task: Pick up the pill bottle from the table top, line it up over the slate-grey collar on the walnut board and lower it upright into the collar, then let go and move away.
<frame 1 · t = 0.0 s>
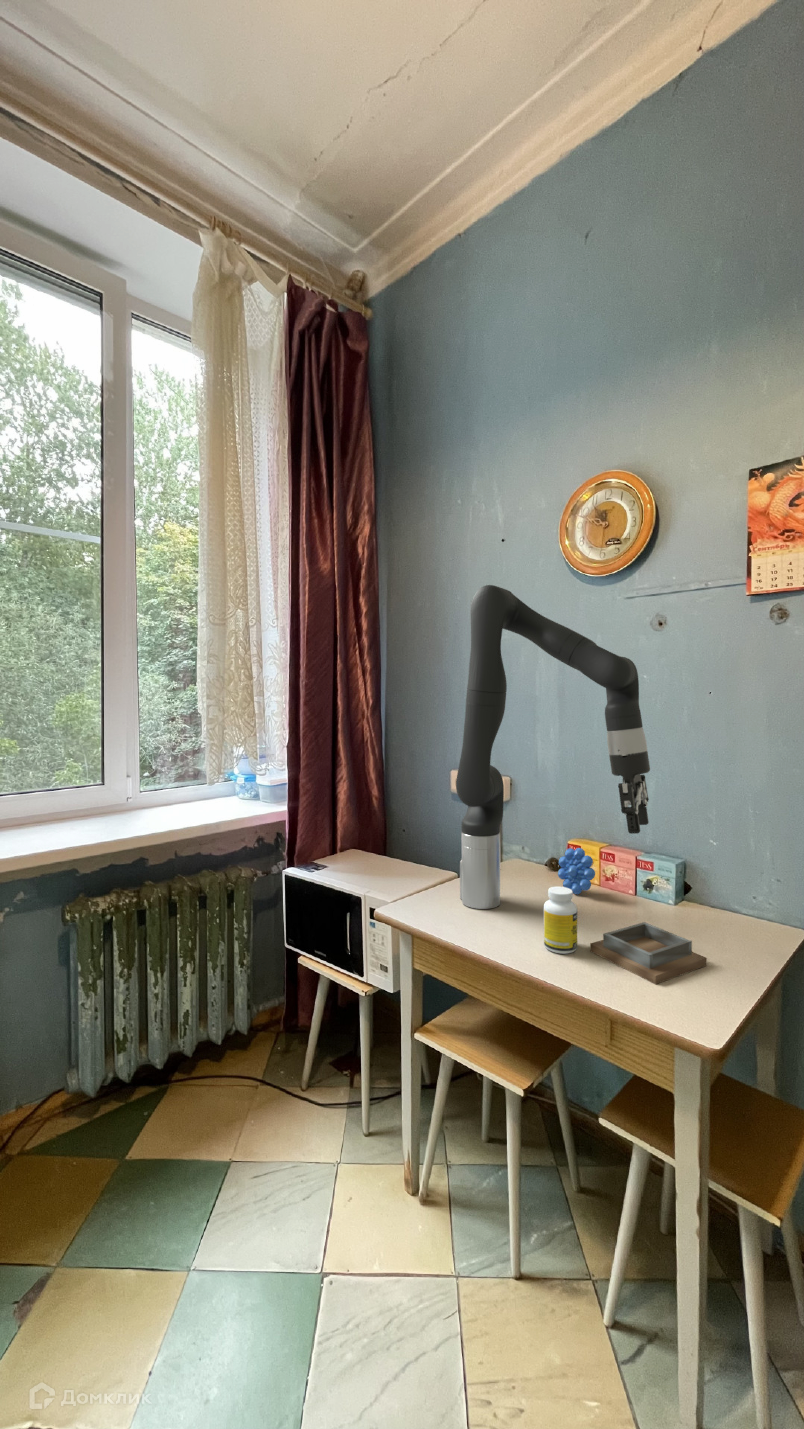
hand: (639, 828, 122), 22 cm above the table, tool pointing down, fingers open, 8 cm apart
pill bottle: (560, 948, 117), on the table
collar board: (646, 958, 112), on the table
grapes: (578, 894, 148), on the table
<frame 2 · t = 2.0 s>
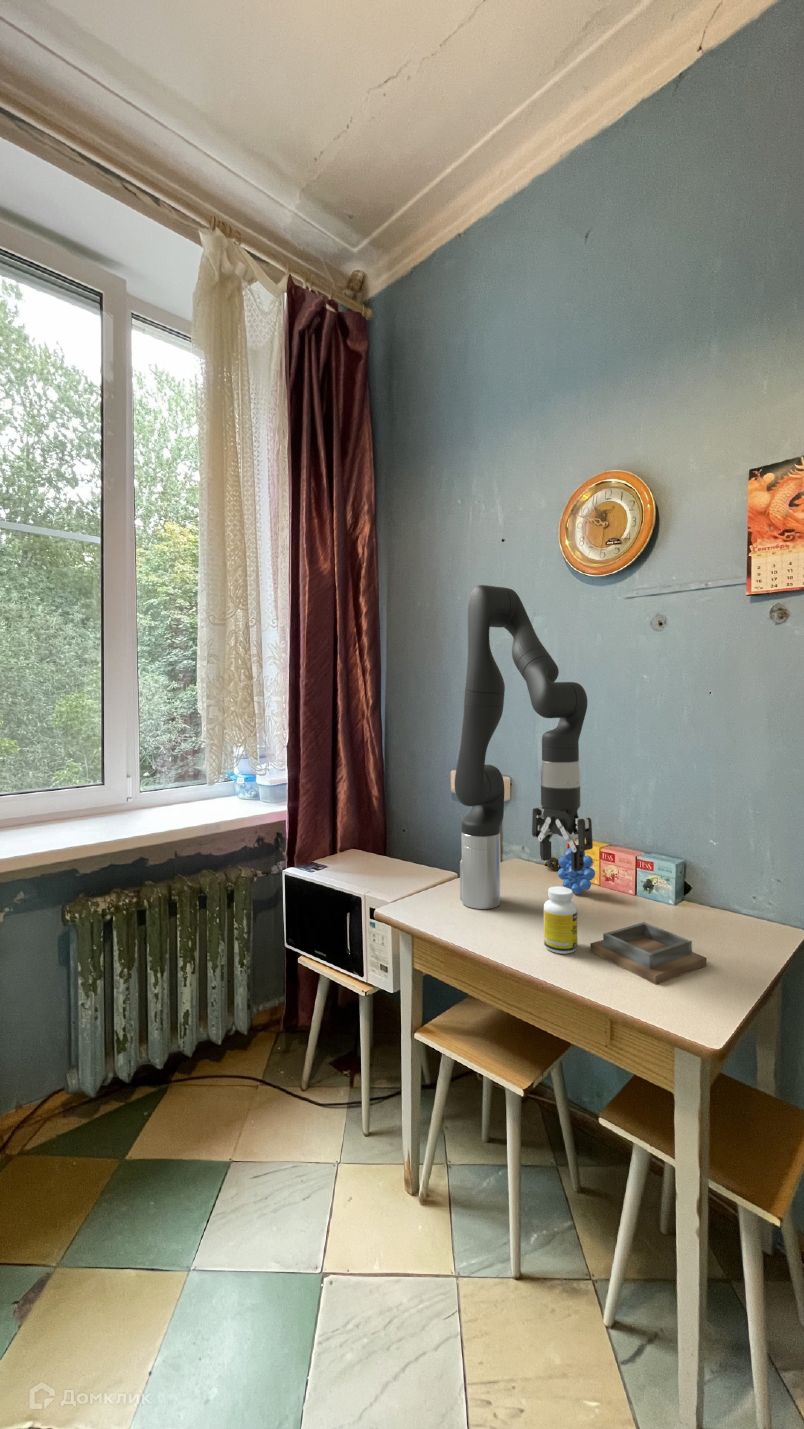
hand: (561, 864, 116), 17 cm above the table, tool pointing down, fingers open, 8 cm apart
nothing on the table moved.
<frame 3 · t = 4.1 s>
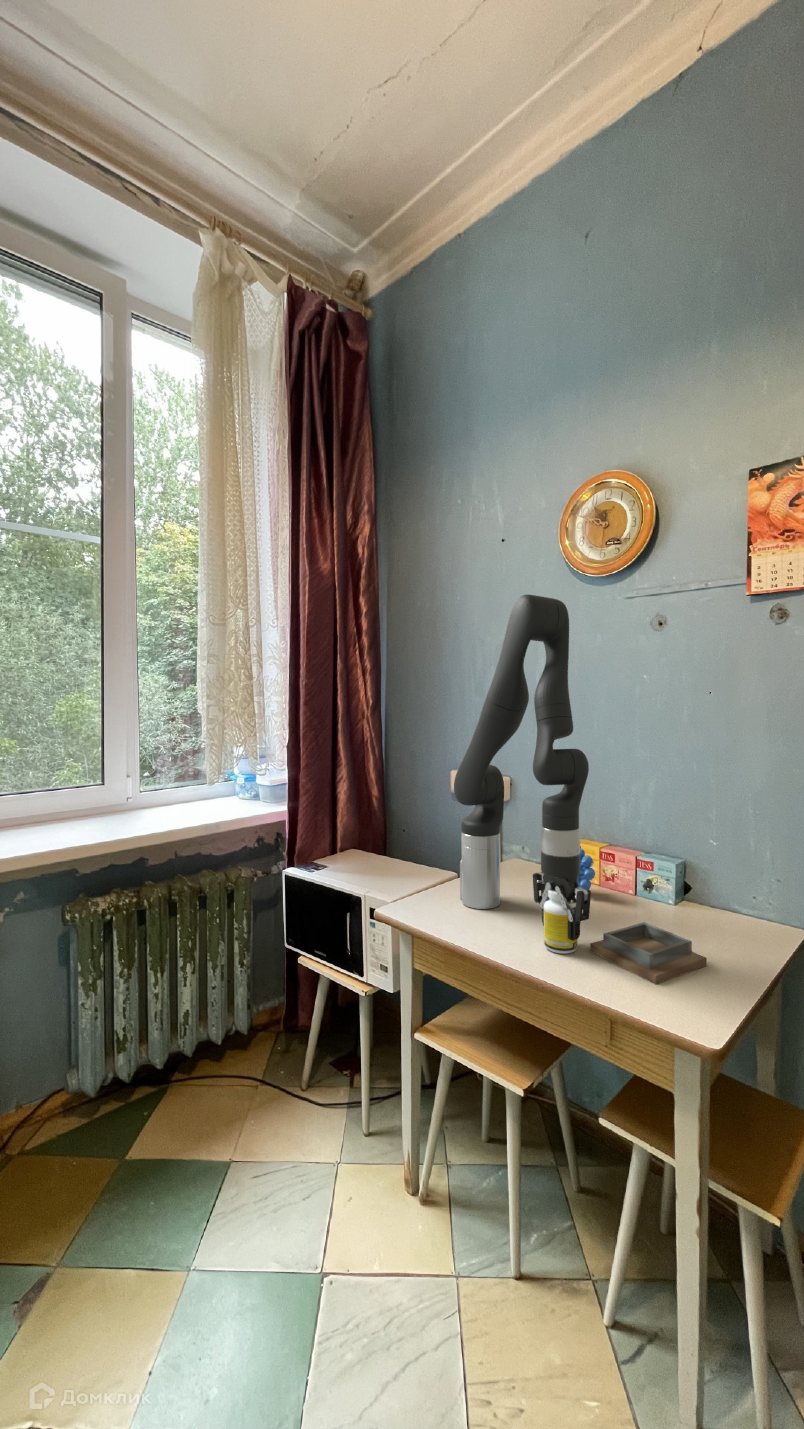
hand: (560, 932, 117), 3 cm above the table, tool pointing down, fingers closed on pill bottle, 6 cm apart
pill bottle: (560, 948, 117), on the table, touching gripper
everything else where it was.
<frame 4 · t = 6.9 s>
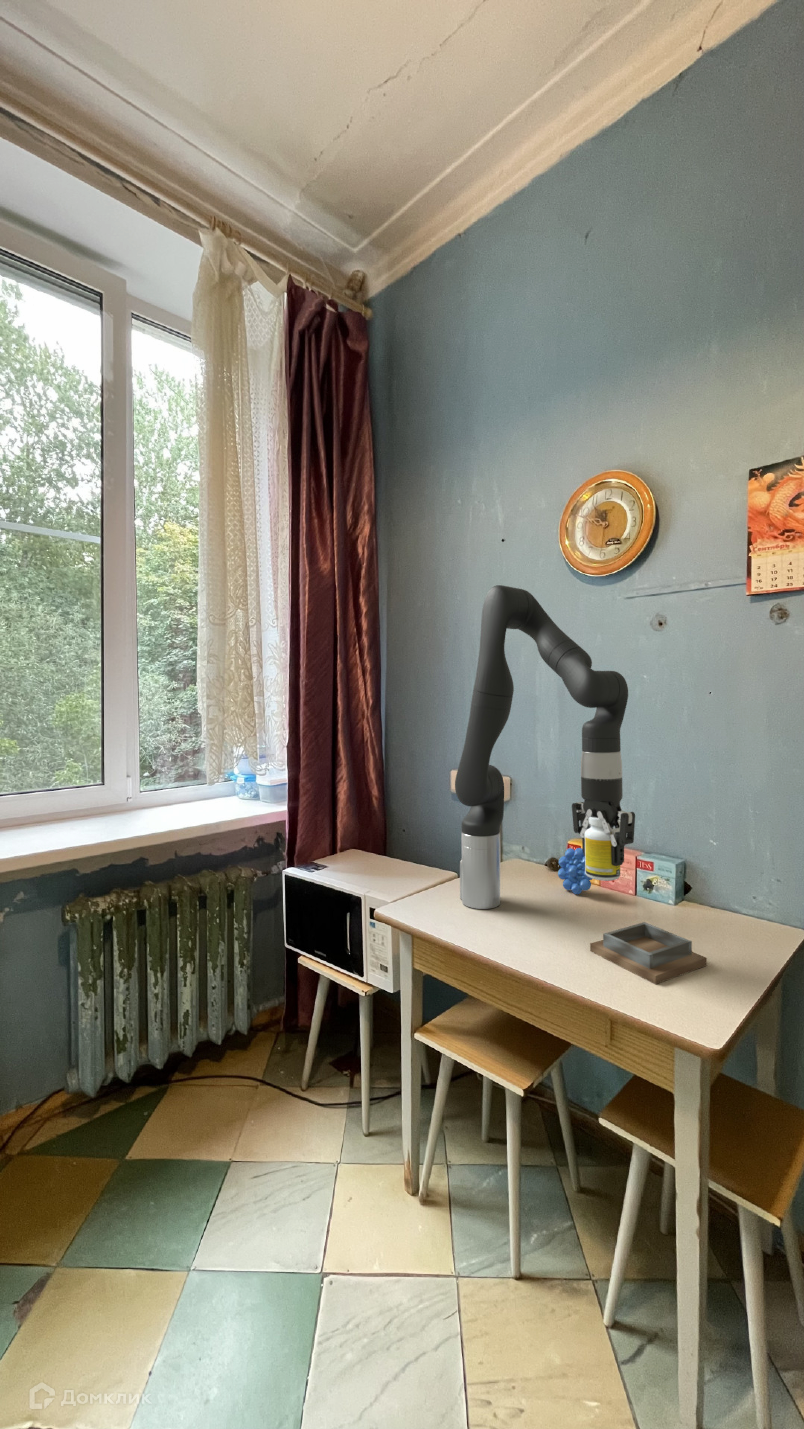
hand: (602, 860, 113), 18 cm above the table, tool pointing down, fingers closed on pill bottle, 6 cm apart
pill bottle: (602, 877, 113), point 15 cm above the table, touching gripper
everything else where it was.
when the fingers open (5 cm above the table, at t = 9.7 s): pill bottle stays where it is, resting on collar board.
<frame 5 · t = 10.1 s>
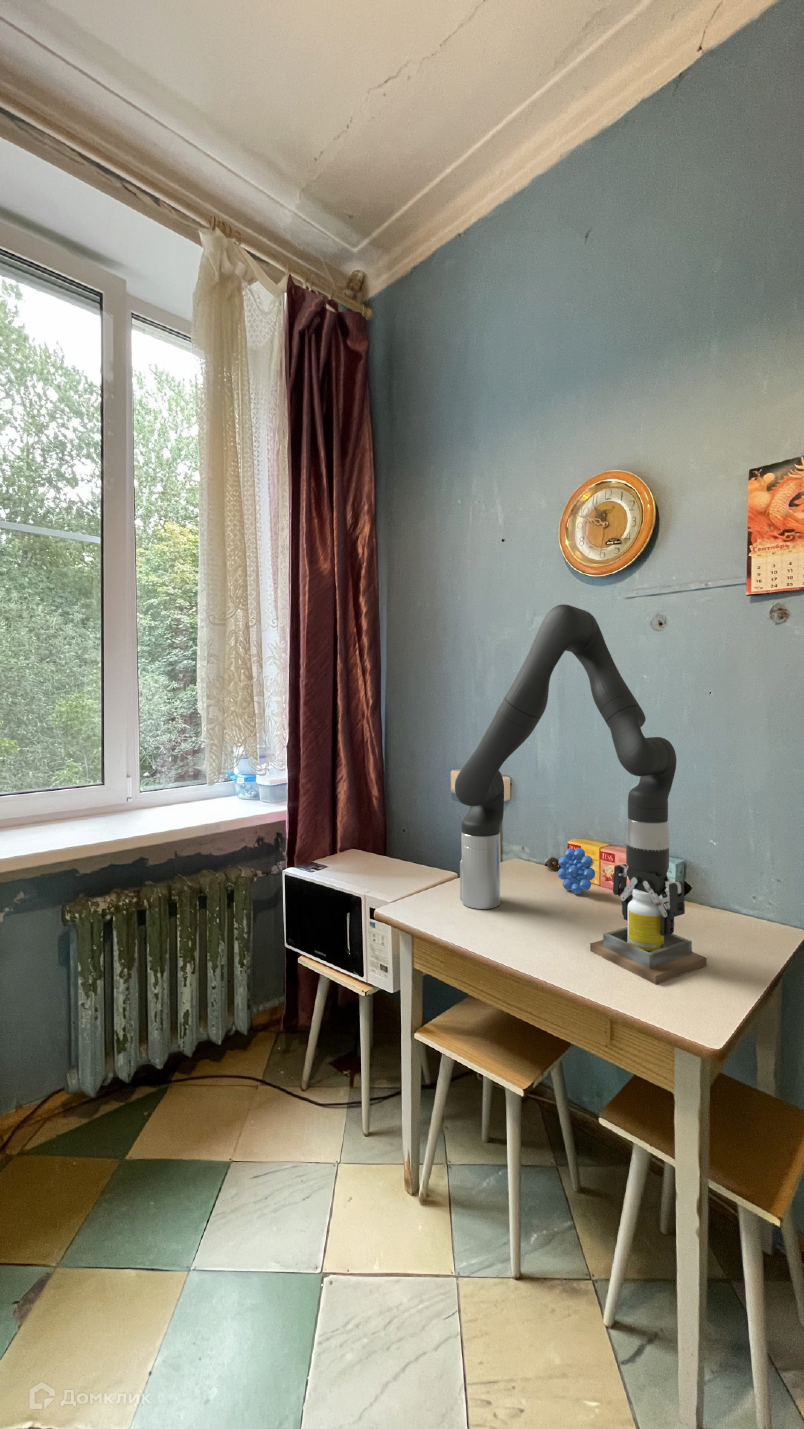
hand: (646, 927, 112), 6 cm above the table, tool pointing down, fingers open, 8 cm apart
pill bottle: (645, 950, 112), point 1 cm above the table, touching collar board
everything else where it was.
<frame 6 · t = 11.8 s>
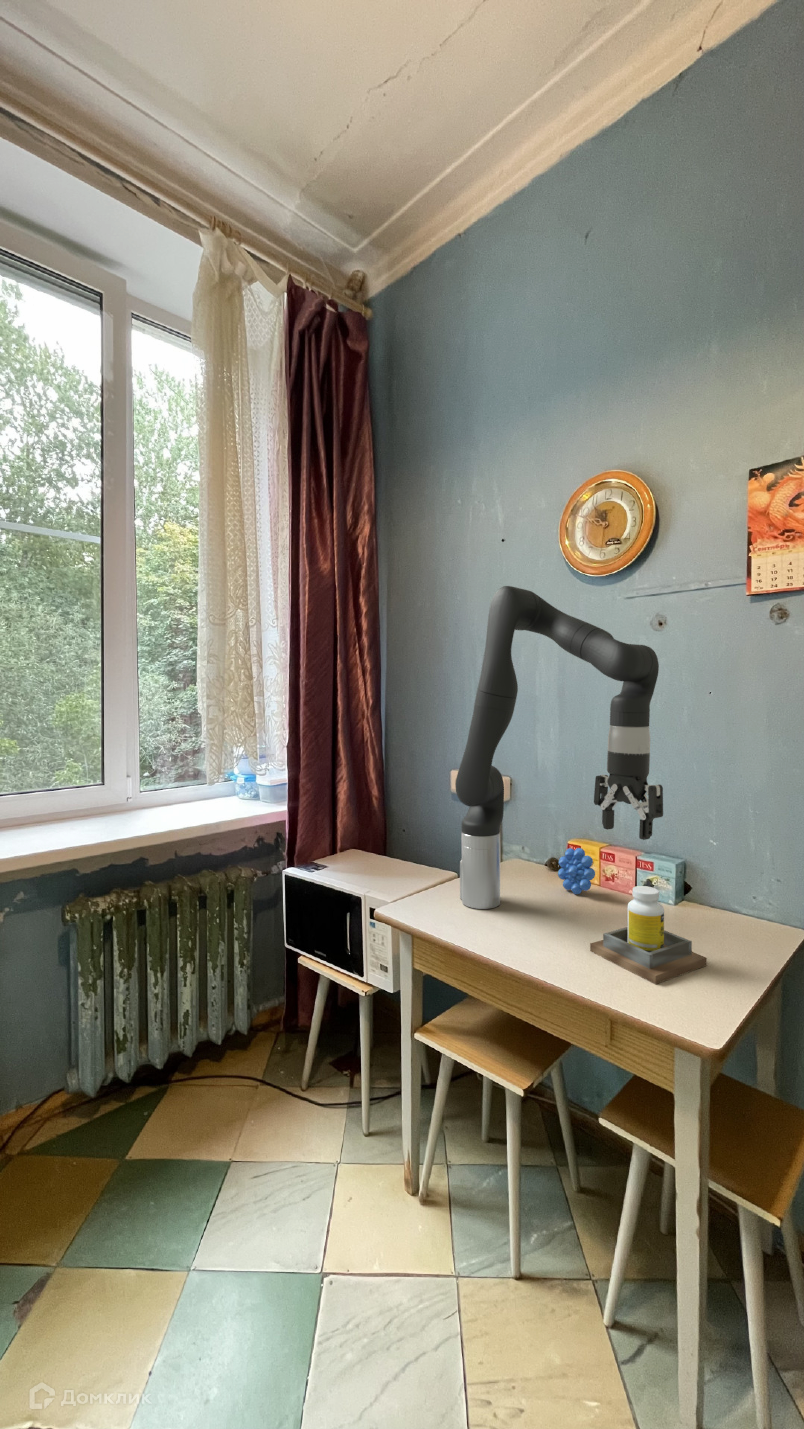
hand: (625, 833, 113), 24 cm above the table, tool pointing down, fingers open, 8 cm apart
nothing on the table moved.
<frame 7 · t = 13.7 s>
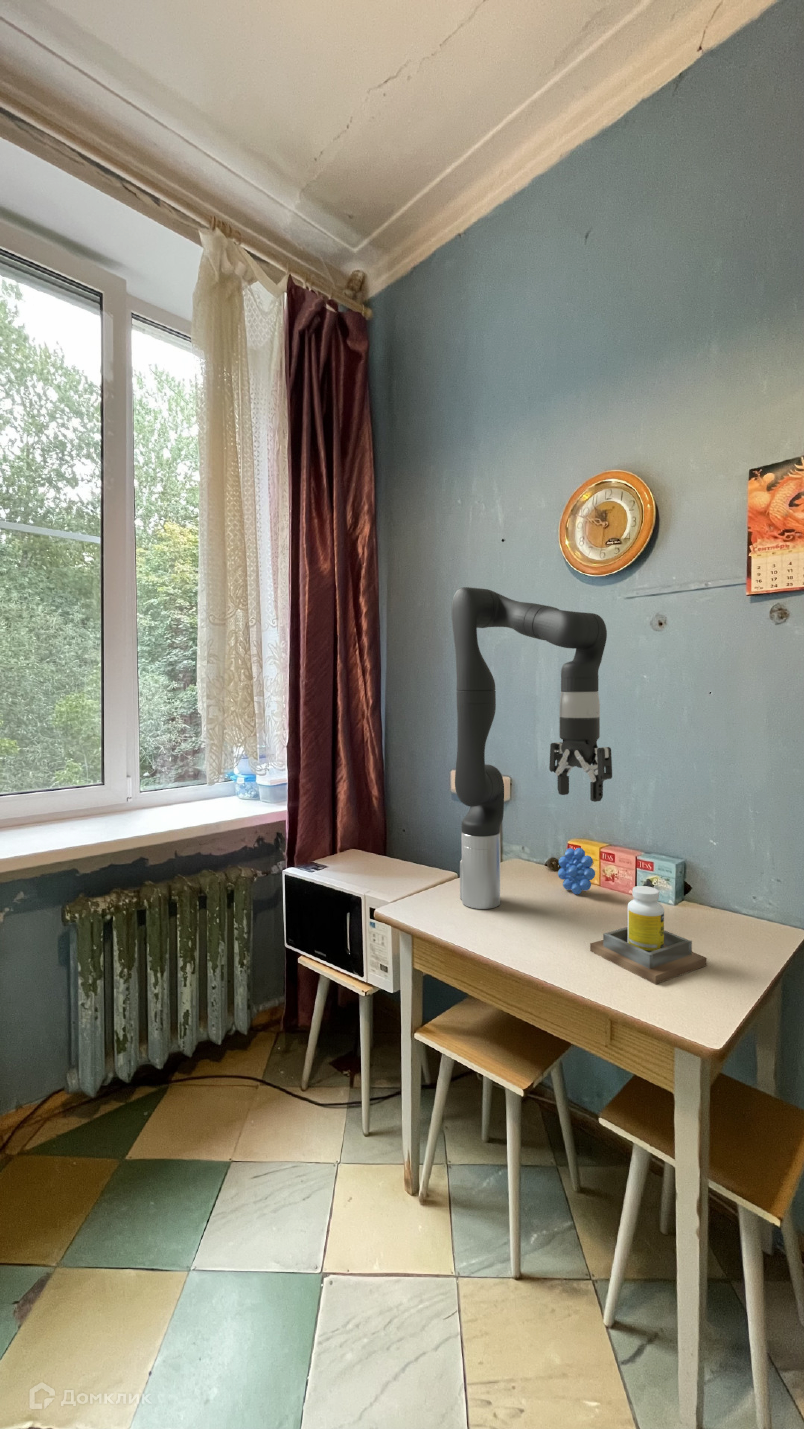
hand: (579, 797, 115), 30 cm above the table, tool pointing down, fingers open, 8 cm apart
nothing on the table moved.
at the end: pill bottle 0.3 cm off-centre on the collar board, point 1.3 cm above the collar board's base; pill bottle tilted 0°; the gripper is holding nothing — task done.
